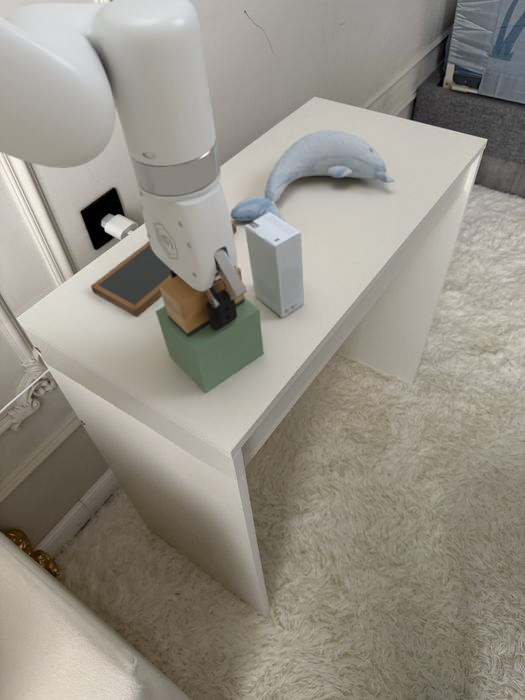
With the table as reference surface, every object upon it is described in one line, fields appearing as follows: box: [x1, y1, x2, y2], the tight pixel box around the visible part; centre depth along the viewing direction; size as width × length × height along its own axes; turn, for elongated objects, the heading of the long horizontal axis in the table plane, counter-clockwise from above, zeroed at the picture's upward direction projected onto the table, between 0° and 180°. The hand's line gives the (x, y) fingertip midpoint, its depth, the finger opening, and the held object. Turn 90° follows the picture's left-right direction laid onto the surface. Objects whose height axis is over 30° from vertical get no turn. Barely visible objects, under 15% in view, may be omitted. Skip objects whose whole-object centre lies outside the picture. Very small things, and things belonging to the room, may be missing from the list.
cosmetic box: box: [244, 212, 305, 318], centre depth 67 cm, size 6×4×12 cm
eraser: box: [159, 266, 245, 337], centre depth 58 cm, size 8×4×5 cm, turn 130°
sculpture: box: [230, 129, 395, 223], centre depth 84 cm, size 18×8×25 cm
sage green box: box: [155, 296, 264, 394], centre depth 63 cm, size 9×8×8 cm
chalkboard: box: [90, 223, 237, 317], centre depth 78 cm, size 22×9×1 cm, turn 144°
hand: (206, 306), depth 59 cm, fingers open, 6 cm apart
